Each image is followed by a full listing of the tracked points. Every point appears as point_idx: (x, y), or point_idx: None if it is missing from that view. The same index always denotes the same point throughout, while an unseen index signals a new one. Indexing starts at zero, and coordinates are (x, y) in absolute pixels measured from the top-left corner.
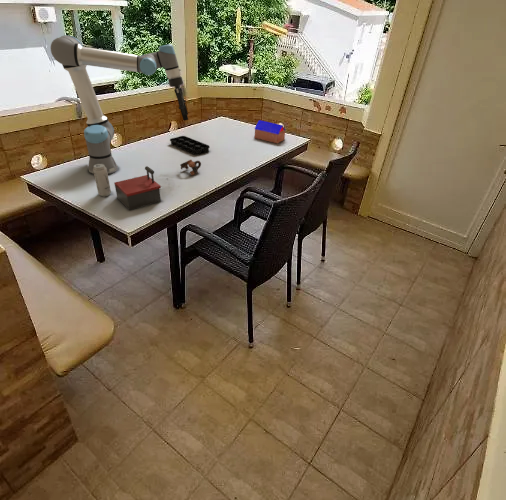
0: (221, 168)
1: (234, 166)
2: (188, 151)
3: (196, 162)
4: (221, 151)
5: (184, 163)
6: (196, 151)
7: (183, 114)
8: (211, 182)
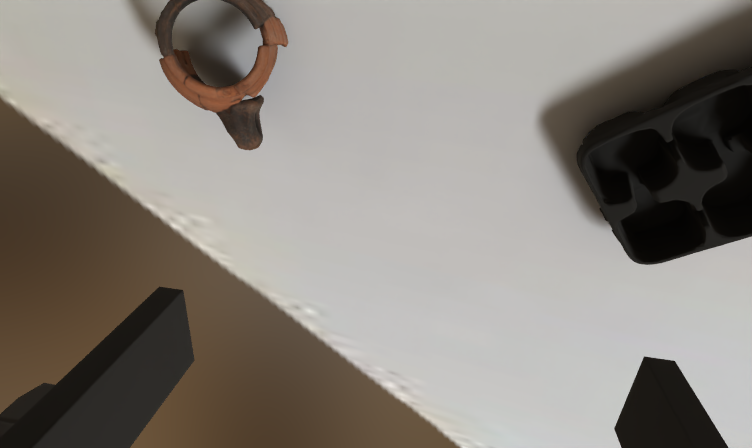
0: (319, 233)
1: (347, 291)
2: (694, 82)
3: (225, 124)
4: (601, 296)
5: (158, 30)
6: (578, 153)
7: (41, 394)
8: (130, 150)
